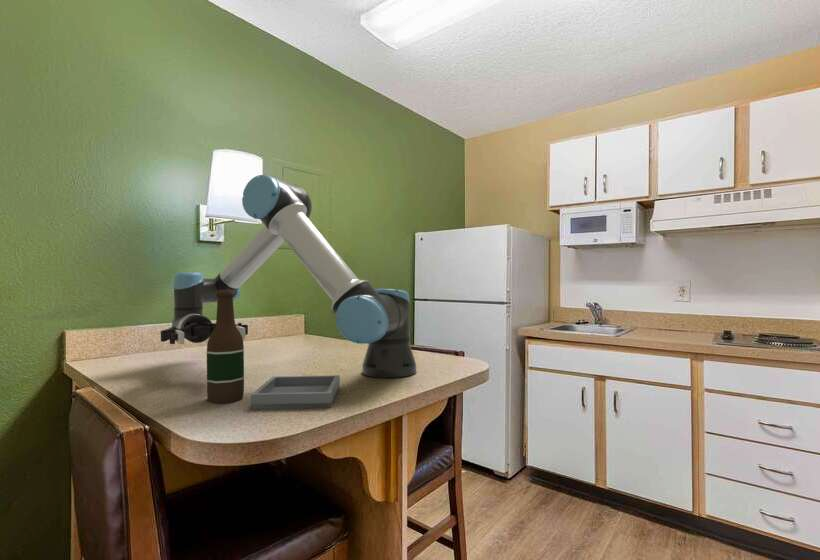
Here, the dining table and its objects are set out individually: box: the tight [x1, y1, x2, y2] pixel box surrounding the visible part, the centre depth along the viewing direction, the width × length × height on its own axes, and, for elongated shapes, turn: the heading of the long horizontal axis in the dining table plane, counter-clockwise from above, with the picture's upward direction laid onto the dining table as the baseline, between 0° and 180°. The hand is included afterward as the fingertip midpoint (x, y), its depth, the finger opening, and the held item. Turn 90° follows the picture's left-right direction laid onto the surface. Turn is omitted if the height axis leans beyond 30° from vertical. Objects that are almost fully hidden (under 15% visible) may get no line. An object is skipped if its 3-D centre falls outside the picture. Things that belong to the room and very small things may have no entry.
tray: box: [250, 374, 341, 410], centre depth 94 cm, size 16×16×3 cm
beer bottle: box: [206, 290, 245, 405], centre depth 93 cm, size 8×8×24 cm
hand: (214, 335), depth 101 cm, fingers open, 13 cm apart
